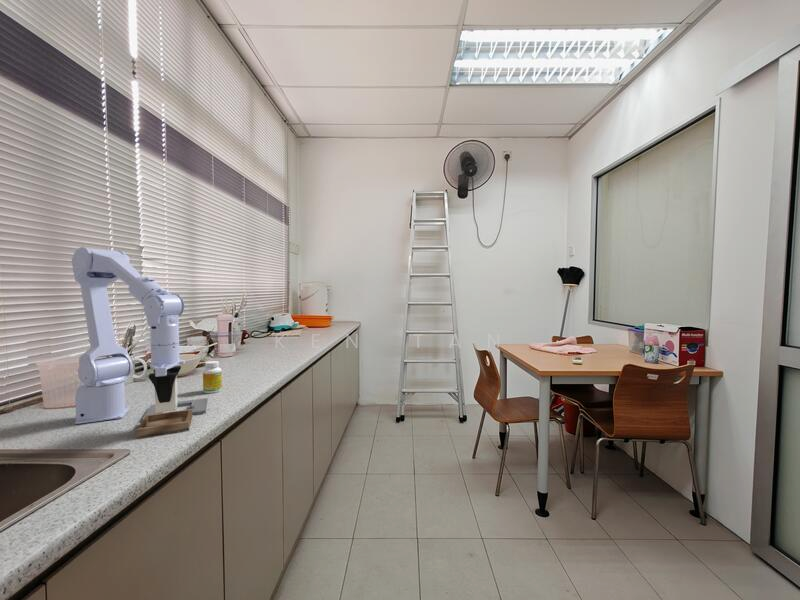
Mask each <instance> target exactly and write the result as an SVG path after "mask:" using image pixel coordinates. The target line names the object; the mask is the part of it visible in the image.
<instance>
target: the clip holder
mask: <svg viewBox="0 0 800 600" xmlns="http://www.w3.org/2000/svg"><path fill="white" fill-rule="evenodd" d="M208 401H209V399H208V397H207V398H205V397H204V398H197V399H190V400H182V401H181V400H180V401H178V406H177V408H179V406H181V407H187V406H190V407H191V408H190V409H192V416H196V415H197V414H198V415H203V414H204V413H205V414H206V412H207V408H208ZM160 413H164V412H160ZM151 414H159V413H155V404H151V405H150V406H149V407H148V409H147V410H146V412H145V414H144V415H143V416H142V418H141V421H142V420H143V419H144V417H145V416H146V415H151Z"/></svg>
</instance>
